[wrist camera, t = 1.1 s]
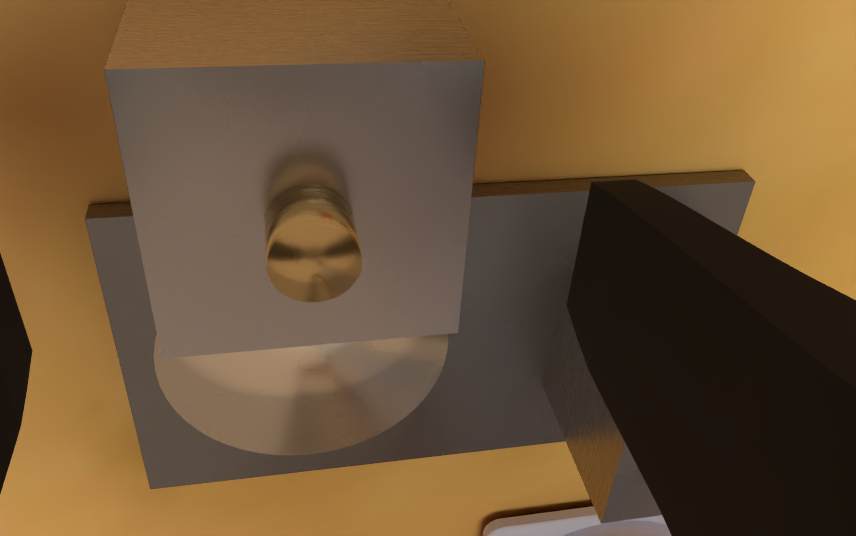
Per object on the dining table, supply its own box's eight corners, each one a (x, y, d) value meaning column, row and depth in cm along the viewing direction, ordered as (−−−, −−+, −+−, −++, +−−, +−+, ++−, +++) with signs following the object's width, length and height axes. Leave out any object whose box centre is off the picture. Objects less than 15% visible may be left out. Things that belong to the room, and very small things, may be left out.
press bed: (663, 415, 23) (742, 553, 19) (152, 473, 20) (133, 643, 17) (743, 170, 18) (867, 292, 14) (89, 205, 15) (44, 363, 12)
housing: (405, 175, 17) (473, 377, 12) (180, 186, 16) (156, 407, 11) (414, -51, 14) (505, 93, 9) (144, -52, 13) (91, 107, 8)
